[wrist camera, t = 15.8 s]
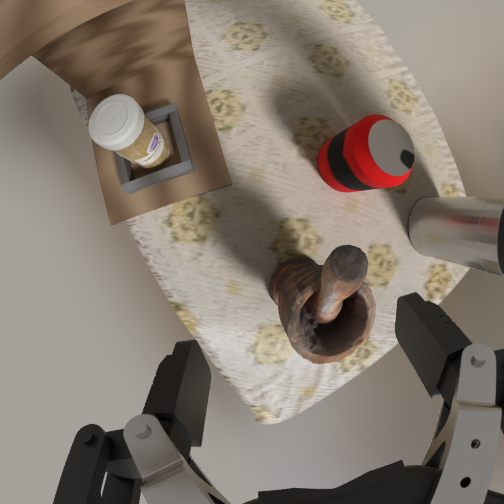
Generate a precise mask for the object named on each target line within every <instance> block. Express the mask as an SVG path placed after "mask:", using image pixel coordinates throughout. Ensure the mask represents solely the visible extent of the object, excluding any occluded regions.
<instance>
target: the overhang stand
mask: <svg viewBox="0 0 504 504" xmlns="http://www.w3.org/2000/svg"><path fill="white" fill-rule="evenodd" d="M31 55H32V56H33V57H35V58H36V59H37V60H38V61H40V62H41V63H42V64H44V65H45V66H46V67H47V68H49V69H50V70H51V71H53V72H54V73H55V74H56V75H58V76H59V77H60V78H62V79H63V80H64V81H65V82H67V83H68V84H69V85H70V86H72V87H73V88H74V89H75V90H77V91H78V92H79V93H81V94H82V95H83V96H84V97H86V98H87V106H88V115H89V120H90V117H91V114H92V112H93V111H94V109H95V108H96V106H97V105H98V104H99V103H100V102H102V101H103V100H104V99H106V98H108V97H110V96H112V95H117V94H125V95H128V96H130V97H132V98H133V99H134V100H135V101H136V102H137V103H138V104H139V106H140V107H141V108H142V110H143V113H144V115H145V116H146V117H147V118H148V119H149V121H150V122H151V123H152V124H153V125H154V126H155V127H156V128H157V130H158V131H159V132H160V133H161V135H162V137H164V138H165V139H166V140H167V142H168V144H169V147H170V155H169V157H168V159H167V161H166V162H165V163H164V164H163V165H162V166H161V167H159V168H157V169H154V170H146V169H144V168H142V167H141V166H140V165H139V164H135V163H133V162H131V161H130V160H128V159H126V158H124V157H122V156H120V155H119V154H117V153H116V152H115V151H113V150H108V149H105V148H103V147H101V146H100V145H98V144H97V143H95V142H94V141H93V140H92V142H93V148H94V154H95V159H96V164H97V169H98V174H99V179H100V183H101V188H102V192H103V196H104V200H105V204H106V208H107V212H108V215H109V219H110V223H111V225H114V224H117V223H119V222H122V221H125V220H127V219H130V218H133V217H135V216H138V215H141V214H144V213H146V212H149V211H152V210H155V209H158V208H160V207H163V206H166V205H169V204H172V203H175V202H178V201H181V200H184V199H187V198H190V197H193V196H196V195H199V194H203V193H206V192H209V191H212V190H216V189H219V188H222V187H226V186H229V185H232V183H231V180H230V176H229V173H228V169H227V166H226V163H225V159H224V156H223V153H222V149H221V146H220V142H219V139H218V136H217V132H216V129H215V125H214V122H213V119H212V115H211V112H210V108H209V105H208V102H207V98H206V95H205V92H204V88H203V85H202V81H201V78H200V75H199V71H198V68H197V64H196V61H195V58H194V53H193V47H192V42H191V36H190V31H189V25H188V19H187V13H186V7H185V1H184V0H0V80H1V79H2V78H3V77H5V76H6V75H7V74H8V73H9V72H10V71H12V70H13V69H14V68H15V67H17V66H18V65H19V64H20V63H22V62H23V61H24V60H25V59H27V58H28V57H30V56H31Z"/></svg>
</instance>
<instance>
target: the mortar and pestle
mask: <svg viewBox="0 0 504 504" xmlns="http://www.w3.org/2000/svg"><path fill="white" fill-rule="evenodd" d="M367 268H368V260H367V257H366V254H365V253H364V252H362V250H361V249H360V248H358V247H355V246H352V245H342V246H339V247H337V248H336V249H334V250H333V251H332V252H331V254H330V255H329V257H328V258H327V260H326V262H325V263H324V265H318V264H317V263H316V262H314V261H313V260H312V259H308V258H303V257H299V258H294V259H290V260H288V261H285V262H284V263H282V264H281V265H279V266H278V267H277V269H276V270H275V272H274V274H273V276H272V279H271V283H270V293H271V296H272V299H273V301H274V302H275V303H276V304H277V305H278V310H279V316H280V320H281V323H282V325H283V327H284V330H285V332H286V334H287V336H288V339H289V341H290V343H291V345H292V347H293V348H294V350H295V351H296V352H297V353H298V354H299V355H301V356H302V357H303V358H305V359H307V360H309V361H311V362H312V363H315V364H324V363H331V362H335V361H338V360H341V359H343V358H345V357H347V356H348V355H350V354H352V353H353V352H354V351H355V349H356V348H358V347H359V346H360V345H361V344H362V343H363V342H364V340H365V339H366V337H367V336H368V334H369V333H370V331H371V329H372V326H373V323H374V319H375V308H376V303H375V299H374V297H373V295H372V291H371V289H369V288H368V286H367V284H366V283H365V282H363V281H364V279H365V277H366V273H367Z"/></svg>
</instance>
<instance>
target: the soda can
mask: <svg viewBox="0 0 504 504" xmlns="http://www.w3.org/2000/svg"><path fill="white" fill-rule="evenodd" d="M413 163H414V146H413V143H412V140H411V138H410V136H409V135H408V133H407V132H406V130H405V129H404V128H403V127H402V126H401V125H399V124H398V123H396V122H395V121H393V120H392V119H390V118H388V117H386V116H383V115H370V116H367V117H365V118H363V119H361V120H360V121H358V122H357V123H355V124H353V125H352V126H350V127H349V128H347V129H346V130H344V131H342V132H341V133H339V134H338V135H336V136H335V137H333V138H331V139H330V140H328V141H327V142H326V143H325V144H324V145H323V146H322V148H321V149H320V152H319V155H318V167H319V171H320V173H321V176H322V178H323V179H324V180H325V182H326V183H327V184H328V185H329V186H330V187H332V188H333V189H335V190H337V191H340V192H355V191H363V190H371V189H379V188H388V187H394V186H398V185H400V184H402V183H403V182H404V181H405V180H406V179H407V178H408V176H409V175H410V172H411V170H412V166H413Z"/></svg>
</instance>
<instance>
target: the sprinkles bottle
mask: <svg viewBox="0 0 504 504" xmlns="http://www.w3.org/2000/svg"><path fill="white" fill-rule="evenodd" d="M89 134H90V136H91V138H92V140H93V141H94V142H95V143H97V144H98V145H100V146H101V147H103V148H105V149H108V150H113V151H115V152H116V153H117V154H119V155H120V156H122V157H124V158H126V159H128V160H130V161H131V162H133V163H135V164H139V165H140V166H141V167H142V168H144V169H146V170H154V169H157V168H159V167H161V166H162V165H163V164H164V163H165V162H166V161H167V159H168V157H169V155H170V147H169V144H168V142H167V140H166V139H165V138H164V137H162V135H161V133H160V132H159V131H158V130H157V128H156V127H155V126H154V125H153V124H152V123H151V122H150V121H149V119H148V118H147V117H146V116H145V115H144V113H143V110H142V108H141V107H140V106H139V104H138V103H137V102H136V101H135V100H134V99H133V98H132V97H130V96H128V95H125V94H117V95H112V96H110V97H108V98H106V99H104V100H103V101H102V102H100V103H99V104H98V105H97V106H96V108H95V109H94V111H93V112H92V114H91V117H90V120H89Z"/></svg>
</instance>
